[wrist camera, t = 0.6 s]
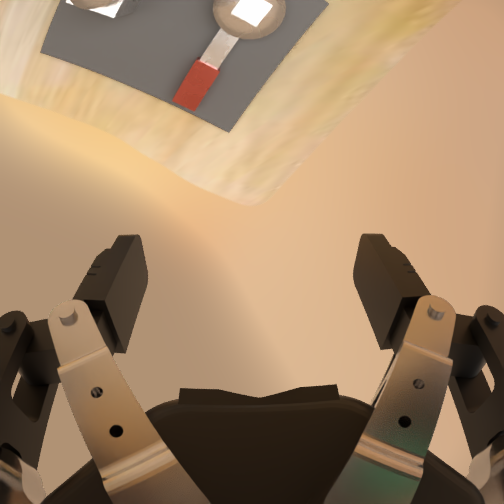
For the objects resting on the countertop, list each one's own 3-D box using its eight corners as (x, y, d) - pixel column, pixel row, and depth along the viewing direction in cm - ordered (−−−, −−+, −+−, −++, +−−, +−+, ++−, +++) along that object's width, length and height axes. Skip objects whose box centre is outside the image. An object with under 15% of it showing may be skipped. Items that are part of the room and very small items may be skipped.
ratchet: (158, 88, 29) (147, 105, 25) (238, -34, 20) (239, -39, 17) (211, 114, 32) (209, 134, 28) (295, 0, 23) (307, 1, 19)
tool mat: (43, 50, 24) (40, 52, 23) (118, -93, 13) (115, -94, 13) (229, 129, 34) (229, 132, 34) (326, 3, 24) (328, 3, 23)
